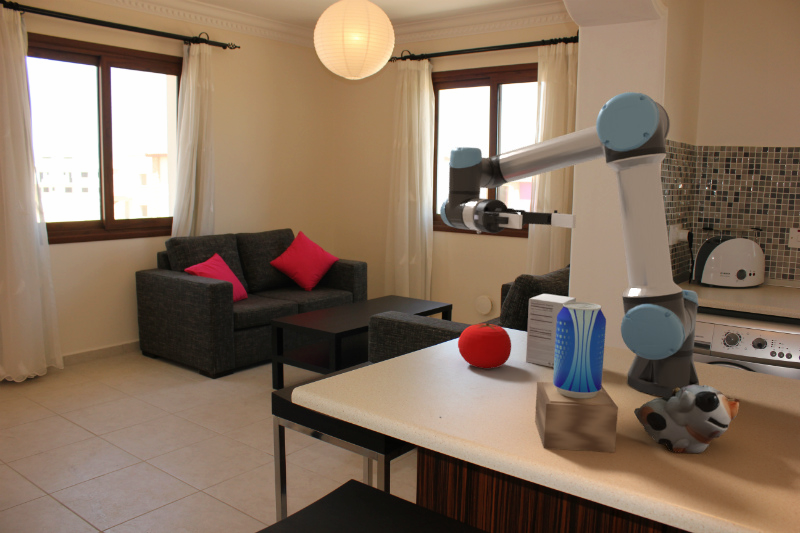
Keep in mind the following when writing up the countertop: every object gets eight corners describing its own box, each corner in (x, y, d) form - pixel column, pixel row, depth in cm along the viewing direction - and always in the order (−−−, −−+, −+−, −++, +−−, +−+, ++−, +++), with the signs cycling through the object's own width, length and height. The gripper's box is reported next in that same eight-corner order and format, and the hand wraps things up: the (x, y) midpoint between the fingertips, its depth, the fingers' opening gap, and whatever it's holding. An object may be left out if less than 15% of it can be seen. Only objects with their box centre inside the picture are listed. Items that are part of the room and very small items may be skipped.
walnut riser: (598, 425, 118) (601, 383, 117) (614, 452, 106) (618, 406, 105) (534, 421, 119) (537, 380, 118) (543, 448, 107) (546, 402, 106)
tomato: (499, 376, 147) (501, 331, 146) (450, 367, 154) (451, 323, 152) (517, 364, 157) (520, 322, 156) (470, 356, 164) (472, 315, 162)
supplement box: (539, 354, 167) (543, 292, 165) (572, 360, 162) (577, 297, 160) (524, 362, 160) (528, 297, 158) (559, 369, 154) (563, 302, 152)
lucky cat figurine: (680, 422, 121) (725, 369, 115) (717, 471, 110) (768, 415, 105) (620, 408, 115) (663, 351, 110) (653, 458, 105) (702, 398, 99)
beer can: (603, 402, 107) (610, 311, 105) (553, 397, 109) (559, 308, 106) (597, 386, 115) (603, 302, 113) (551, 383, 117) (556, 299, 115)
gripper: (529, 231, 148) (593, 239, 129) (438, 232, 137) (495, 241, 118) (530, 199, 147) (596, 203, 128) (440, 198, 136) (497, 202, 117)
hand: (548, 221), depth 123 cm, fingers open, 13 cm apart
